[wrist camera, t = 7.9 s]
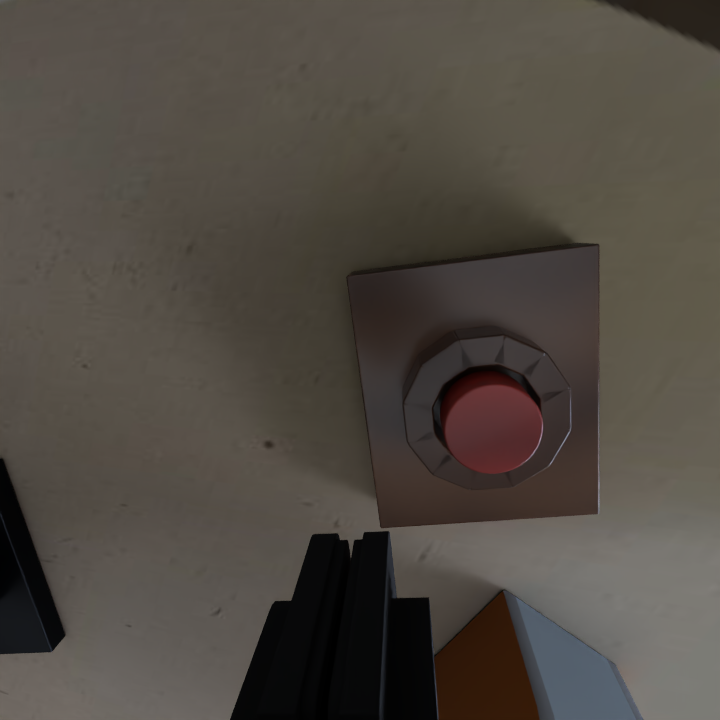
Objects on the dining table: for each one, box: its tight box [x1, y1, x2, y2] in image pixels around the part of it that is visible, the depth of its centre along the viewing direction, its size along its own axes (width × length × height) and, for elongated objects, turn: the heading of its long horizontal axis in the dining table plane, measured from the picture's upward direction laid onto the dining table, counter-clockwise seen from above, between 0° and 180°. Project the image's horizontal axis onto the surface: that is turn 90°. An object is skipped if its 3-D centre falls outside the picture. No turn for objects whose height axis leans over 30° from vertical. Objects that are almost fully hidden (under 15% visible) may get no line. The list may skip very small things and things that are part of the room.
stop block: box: [346, 243, 599, 528], centre depth 20 cm, size 12×10×4 cm
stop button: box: [440, 371, 543, 474], centre depth 18 cm, size 4×4×2 cm
